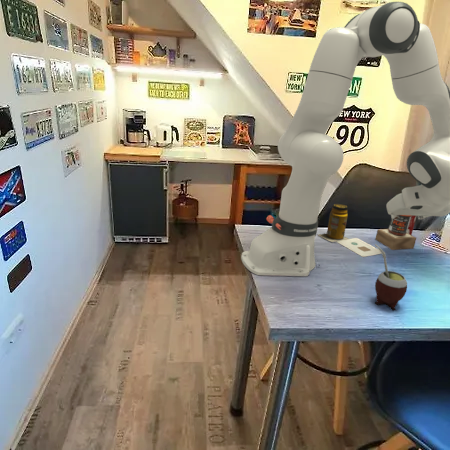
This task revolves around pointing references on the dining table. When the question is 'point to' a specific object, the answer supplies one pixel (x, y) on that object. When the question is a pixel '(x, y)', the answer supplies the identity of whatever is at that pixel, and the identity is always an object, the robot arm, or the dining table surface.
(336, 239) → the condiment
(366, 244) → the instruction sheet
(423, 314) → the dining table surface
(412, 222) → the soda can
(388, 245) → the pedestal
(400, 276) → the mate gourd
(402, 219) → the supplement bottle
